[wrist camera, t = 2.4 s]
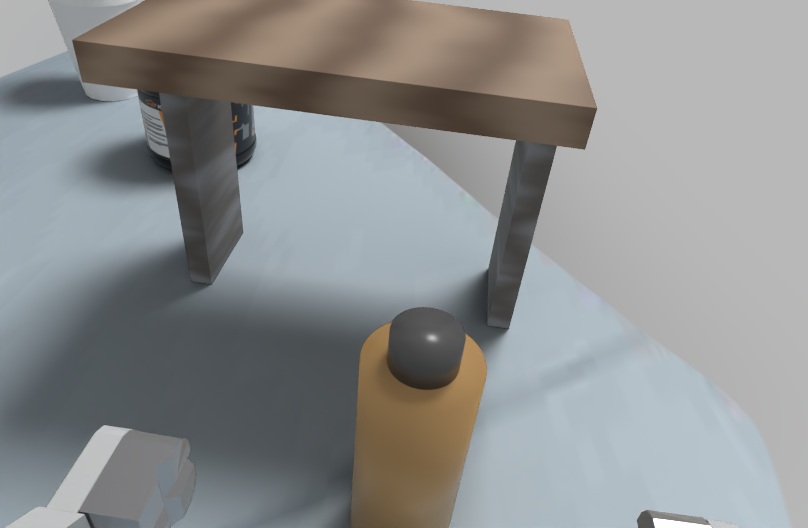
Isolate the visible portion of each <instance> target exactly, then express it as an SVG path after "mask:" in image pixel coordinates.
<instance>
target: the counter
mask: <svg viewBox="0 0 808 528" xmlns="http://www.w3.org/2000/svg"><path fill="white" fill-rule="evenodd" d="M72 43H73V47H74V51H75V55H76V59H77V63H78V67H79V71H80V75H81V79H82V82H84V83H91V84H99V85H106V86H114V87H121V88H129V89H136V90H144V91H151V92H159V96H160V102H161V108H162V114H163V120H164V125H165V131H166V137H167V143H168V149H169V155H170V161H171V166H172V172H173V178H174V184H175V190H176V196H177V202H178V208H179V213H180V219H181V225H182V231H183V237H184V243H185V249H186V254H187V260H188V266H189V272H190V278H191V281H193V282H199V283H206V284H212V283H213V281H214V280H215V278H216V276H217V275H218V273H219V272H220V270H221V268H222V267H223V265H224V263H225V262H226V260H227V258H228V257H229V255H230V253H231V252H232V250H233V248H234V247H235V245H236V244H237V242H238V240H239V239H240V237H241V235H242V234H243V226H242V215H241V205H240V194H239V184H238V173H237V163H236V153H235V142H234V132H233V121H232V111H231V102H234V103H241V104H249V105H256V106H264V107H271V108H279V109H286V110H293V111H301V112H308V113H316V114H323V115H331V116H338V117H346V118H353V119H361V120H368V121H376V122H383V123H391V124H399V125H406V126H413V127H421V128H428V129H436V130H443V131H451V132H458V133H466V134H473V135H481V136H489V137H496V138H504V139H511V140H516V143H515V148H514V153H513V158H512V162H511V166H510V171H509V176H508V180H507V185H506V190H505V194H504V199H503V204H502V208H501V213H500V217H499V222H498V227H497V231H496V236H495V240H494V245H493V250H492V254H491V259H490V264H489V270H488V310H487V325H488V326H494V327H501V328H508V329H509V326H510V322H511V318H512V315H513V311H514V307H515V303H516V299H517V296H518V292H519V288H520V284H521V280H522V277H523V273H524V269H525V265H526V261H527V258H528V254H529V250H530V246H531V242H532V238H533V235H534V231H535V227H536V223H537V219H538V215H539V212H540V208H541V204H542V200H543V197H544V193H545V189H546V185H547V181H548V178H549V174H550V170H551V166H552V162H553V159H554V155H555V151H556V147H557V146H563V147H571V148H578V149H585V148H586V144H587V141H588V138H589V134H590V131H591V127H592V124H593V120H594V117H595V114H596V110H597V106H596V103H595V100H594V97H593V94H592V91H591V88H590V85H589V82H588V79H587V76H586V72H585V69H584V66H583V63H582V60H581V57H580V54H579V51H578V48H577V45H576V42H575V39H574V36H573V32H572V29H571V26H570V23H569V20H566V19H558V18H550V17H541V16H533V15H525V14H517V13H509V12H501V11H493V10H485V9H477V8H476V9H475V8H468V7H460V6H452V5H444V4H436V3H428V2H419V1H412V0H145V1H143V2H141V3H139V4H137V5H136V6H134V7H132V8H130V9H128V10H126V11H124V12H123V13H121V14H119V15H117V16H115V17H113V18H112V19H110V20H108V21H106V22H104V23H102V24H100V25H99V26H97V27H95V28H93V29H91V30H89V31H87V32H86V33H84V34H82V35H80V36H78V37H76V38H74V39H73V40H72Z"/></svg>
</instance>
